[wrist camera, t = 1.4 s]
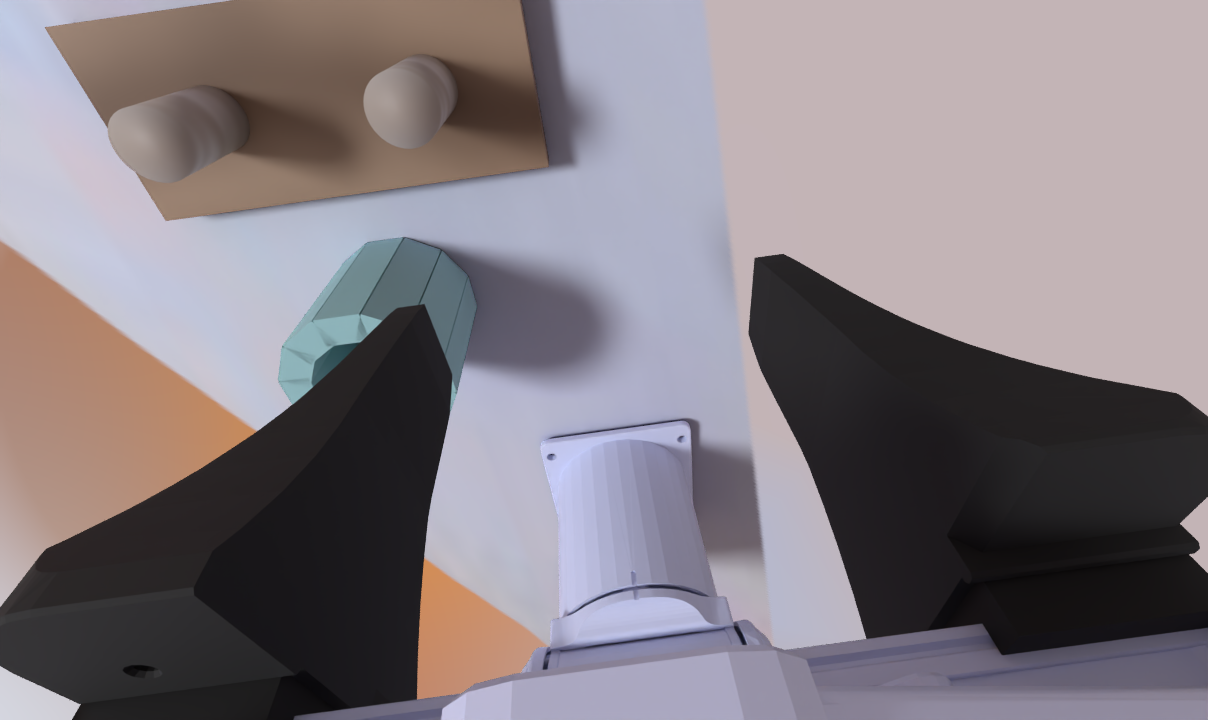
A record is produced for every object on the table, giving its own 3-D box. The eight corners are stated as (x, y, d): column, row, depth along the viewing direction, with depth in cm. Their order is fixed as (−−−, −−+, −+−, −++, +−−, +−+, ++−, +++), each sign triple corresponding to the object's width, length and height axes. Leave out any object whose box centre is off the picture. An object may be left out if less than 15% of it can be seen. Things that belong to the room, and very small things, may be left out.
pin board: (548, 159, 20) (547, 199, 16) (181, 211, 20) (98, 262, 16) (514, -40, 16) (503, -44, 13) (69, 25, 17) (-68, 38, 13)
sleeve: (488, 344, 25) (472, 434, 20) (368, 361, 25) (323, 455, 20) (454, 230, 21) (425, 304, 16) (316, 249, 21) (246, 329, 16)
